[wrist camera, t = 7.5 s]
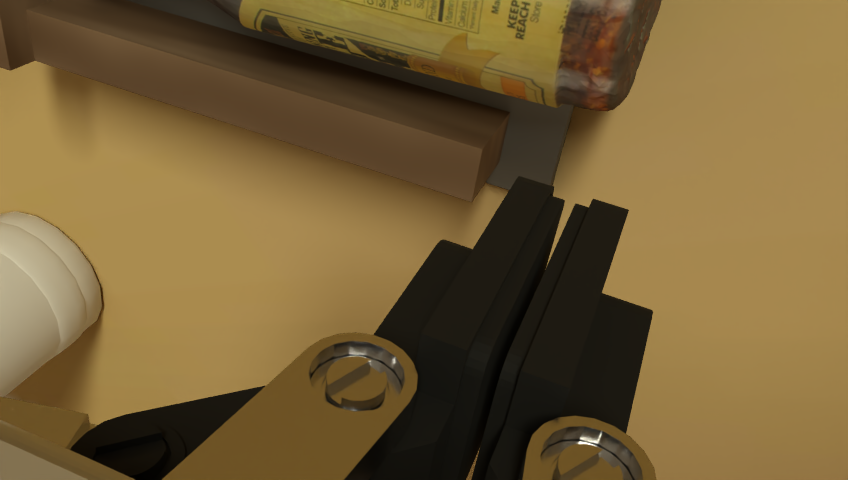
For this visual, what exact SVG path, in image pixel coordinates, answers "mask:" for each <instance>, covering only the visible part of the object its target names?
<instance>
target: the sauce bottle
mask: <svg viewBox="0 0 848 480" xmlns="http://www.w3.org/2000/svg"><path fill="white" fill-rule="evenodd" d="M208 1H209V2H211V3H212V4H214V5H215V6H216V7H218V8H219V9H221V10H222V11H224V12H225V13H227V14H228V15H229V16H231V17H232V18H234V19H235V20H237V21H238V22H239V23H240V24H241V25H243V26H244V27H247V28H250V29H254V30H257V31H261V32H265V33H268V34H271V35H275V36H281V37H285V38H289V39H293V40H297V41H301V42H305V43H309V44H312V45H316V46H320V47H324V48H329V49H332V50H335V51H338V52H342V53H346V54H350V55H354V56H358V57H361V58H365V59H371V60H375V61H378V62H384V63H387V64H390V65H393V66H397V67H400V68H403V69H407V70H412V71H417V72H421V73H424V74H428V75H432V76H436V77H440V78H444V79H447V80H451V81H455V82H459V83H463V84H467V85H470V86H474V87H478V88H482V89H486V90H490V91H493V92H497V93H501V94H505V95H509V96H513V97H516V98H520V99H524V100H528V101H532V102H536V103H539V104H543V105H547V106H551V107H555V108H558V107H560V106H561V105H564V104H567V105H573V106H577V107H581V108H585V109H590V110H595V111H609V110H613V109H615V108H616V107H617V106H619V105H620V104H621V103H622V102H623V100H624V99H625V98H626V97H627V95H628V94H629V91H630V89H631V87H632V84H633V82H634V79H635V75H636V71H637V69H638V67H639V64H640V61H641V58H642V55H643V52H644V49H645V46H646V44H647V42H648V40H649V36H650V31H651V29H652V26H653V24H654V22H655V19H656V17H657V14H658V11H659V8H660V5H661V0H208Z"/></svg>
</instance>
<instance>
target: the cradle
mask: <svg viewBox="0 0 848 480" xmlns="http://www.w3.org/2000/svg"><path fill="white" fill-rule="evenodd" d="M33 61H38V62H41V63H44V64H47V65H50V66H53V67H56V68H59V69H63V70H66V71H69V72H72V73H75V74H78V75H81V76H84V77H87V78H90V79H93V80H96V81H100V82H103V83H106V84H109V85H112V86H115V87H118V88H121V89H124V90H127V91H130V92H133V93H137V94H140V95H143V96H146V97H149V98H152V99H155V100H158V101H161V102H164V103H167V104H170V105H174V106H177V107H180V108H183V109H186V110H189V111H192V112H195V113H198V114H201V115H204V116H207V117H211V118H214V119H217V120H220V121H223V122H226V123H229V124H232V125H235V126H238V127H241V128H244V129H248V130H251V131H254V132H257V133H260V134H263V135H266V136H269V137H272V138H275V139H278V140H281V141H285V142H288V143H291V144H294V145H297V146H300V147H303V148H306V149H309V150H312V151H315V152H319V153H322V154H325V155H328V156H331V157H334V158H337V159H340V160H343V161H346V162H349V163H352V164H356V165H359V166H362V167H365V168H368V169H371V170H374V171H377V172H380V173H383V174H386V175H389V176H393V177H396V178H399V179H402V180H405V181H408V182H411V183H414V184H417V185H420V186H423V187H426V188H430V189H433V190H436V191H439V192H442V193H445V194H448V195H451V196H454V197H457V198H460V199H463V200H467V201H470V202H472V201H473V200H474V198H475V197H476V195H477V194H478V192H479V191H480V189H481V188H482V186H483V185H484V184H485V182H486V183H489V184H492V185H495V186H498V187H501V188H504V189H508V190H510V189H511V187H512V185H513V184H514V182H515V180H516V179H517V178H518V176H521V177H525V178H528V179H531V180H534V181H538V182H541V183H544V184H547V185H550V186H552V185H553V182H554V178H555V174H556V171H557V167H558V163H559V160H560V156H561V152H562V149H563V145H564V141H565V138H566V134H567V130H568V126H569V123H570V119H571V115H572V112H573V108H574V106H573V105H567V104H564V105H561V106H560V107H558V108H555V107H551V106H547V105H543V104H539V103H536V102H532V101H528V100H524V99H520V98H516V97H513V96H509V95H505V94H501V93H497V92H493V91H490V90H486V89H482V88H478V87H474V86H470V85H467V84H463V83H459V82H455V81H451V80H447V79H444V78H440V77H436V76H432V75H428V74H424V73H421V72H417V71H412V70H407V69H403V68H400V67H397V66H393V65H390V64H387V63H384V62H378V61H375V60H371V59H365V58H361V57H358V56H354V55H350V54H346V53H342V52H338V51H335V50H332V49H329V48H324V47H320V46H316V45H312V44H309V43H305V42H301V41H297V40H293V39H289V38H285V37H281V36H275V35H271V34H268V33H265V32H261V31H257V30H254V29H250V28H247V27H244V26H243V25H241V24H240V23H239V22H238V21H237V20H235V19H234V18H232V17H231V16H229V15H228V14H227V13H225V12H224V11H222V10H221V9H219V8H218V7H216V6H215V5H214V4H212V3H211V2H209V1H208V0H0V67H1V68H4V69H7V70H13V69H15V68H18V67H20V66H23V65H25V64H28V63H30V62H33Z"/></svg>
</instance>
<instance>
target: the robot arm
mask: <svg viewBox="0 0 848 480" xmlns="http://www.w3.org/2000/svg"><path fill="white" fill-rule="evenodd" d="M553 192H554V186H550V185H547V184H544V183H541V182H538V181H534V180H531V179H528V178H525V177H521V176H518V178H517V179H516V180H515V182H514V184H513V185H512V187H511V189H510V190H509V192H508V193H507V195H506V197H505V198H504V200H503V201H502V203H501V205H500V206H499V208H498V209H497V211H496V213H495V214H494V216H493V218H492V219H491V221H490V222H489V224H488V226H487V227H486V229H485V230H484V232H483V234H482V235H481V237H480V239H479V240H478V242H477V243H476V245H475V247H474V248H473V249H470V248H467V247H464V246H461V245H458V244H456V243H453V242H450V241H447V240H440V242H439V243H438V244H437V245H436V246H435V248H434V249H433V251H432V252H431V253H430V255H429V256H428V258H427V259H426V261H425V262H424V263H423V265H422V266H421V268H420V269H419V271H418V272H417V273H416V275H415V276H414V278H413V279H412V281H411V282H410V283H409V285H408V286H407V288H406V289H405V291H404V292H403V293H402V295H401V296H400V298H399V299H398V301H397V302H396V303H395V305H394V306H393V308H392V309H391V311H390V312H389V313H388V315H387V316H386V318H385V319H384V321H383V322H382V323H381V325H380V326H379V328H378V329H377V331H376V332H375V333H374V335H370V334H363V333H356V332H355V333H343V334H336V335H333V336H330V337H326V338H323V339H321V340H319V341H318V342H316V343H315V344H313V345H312V346H310V347H309V348H307V349H306V350H305V351H304V352H303V353H302V354H301V355H300V356H298V357H297V358H296V359H295V360H294V361H293V362H292V363H291V364H290V365H288V366H287V367H286V368H285V369H284V370H283V371H282V372H281V373H280V374H278V375H277V376H276V377H275V378H274V379H273V380H272V381H271V382H270V383H268V384H267V385H266V386H262V387H257V388H252V389H247V390H242V391H238V392H233V393H228V394H223V395H218V396H213V397H208V398H204V399H199V400H194V401H189V402H184V403H179V404H175V405H170V406H165V407H160V408H155V409H150V410H146V411H141V412H136V413H131V414H126V415H123V416H120V417H116V418H113V419H110V420H107V421H104V422H103V423H101V424H99V425H95V424H90V422H89V417H88V414H85V413H80V412H75V411H70V410H65V409H60V408H55V407H50V406H45V405H40V404H35V403H30V402H25V401H20V400H15V399H10V398H5V397H0V480H466V478H467V476H468V474H469V471H470V469H471V467H472V464H473V462H474V460H475V457H476V455H477V453H478V450H479V448H480V450H479V454H478V457H477V461H476V465H475V469H474V472H473V476H472V480H657V479H656V475H655V470H654V467H653V465H652V463H651V462H650V460H649V458H648V456H647V455H646V453H645V451H644V450H643V449H642V448H641V447H640V446H639V445H638V444H637V443H636V442H635V441H634V440H633V439H632V438H631V437H630V436H628V435H627V434H626V431H627V427H628V422H629V418H630V413H631V409H632V404H633V400H634V395H635V391H636V387H637V382H638V378H639V373H640V369H641V364H642V360H643V355H644V351H645V346H646V342H647V337H648V333H649V329H650V324H651V320H652V314H653V311H652V310H650V309H647V308H644V307H641V306H638V305H635V304H632V303H629V302H627V301H624V300H621V299H618V298H615V297H612V296H609V295H606V294H603V293H602V290H603V287H604V284H605V281H606V278H607V275H608V272H609V269H610V266H611V263H612V260H613V257H614V254H615V251H616V248H617V244H618V241H619V238H620V235H621V232H622V229H623V226H624V223H625V220H626V217H627V214H628V211H629V210H628V209H624V208H621V207H618V206H615V205H611V204H608V203H605V202H602V201H599V200H595V199H593V200H592V202H591V204H590V206H589V208H588V207H585V206H582V205H579V204H575V206H574V208H573V210H572V212H571V215H570V217H569V219H568V221H567V223H566V226H565V228H564V230H563V232H562V235H561V237H560V239H559V241H558V243H557V246H556V248H555V250H554V252H553V254H552V257H551V259H550V261H549V263H548V265H547V262H548V259H549V255H550V252H551V249H552V245H553V242H554V238H555V235H556V231H557V228H558V224H559V221H560V217H561V214H562V210H563V206H564V202H565V200H563V199H560V198H557V197H553ZM546 266H547V268H546ZM545 269H546V270H545Z"/></svg>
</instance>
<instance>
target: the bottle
mask: <svg viewBox="0 0 848 480" xmlns="http://www.w3.org/2000/svg"><path fill="white" fill-rule="evenodd" d="M101 308H102V301H101V291H100V285H99V282H98V280H97V278H96V275H95V273H94V271H93V268H92V266H91V264H90V263H89V261H88V260H87V259H86V257H85V256H84V255H83V253H82V252H81V250H80V249H79V248H78V246H77V245H76V244H75V243H74V242H73V241H71V240H70V239H69V238H68V237H67V236H66V235H65V234H64V233H63V232H62V231H60V230H59V229H58V228H56V227H55V226H53V225H51V224H49V223H48V222H46V221H44V220H42V219H41V218H39V217H37V216H33V215H29V214H25V213H21V212H17V211H14V212H9V213H4V214H0V397H5V396H6V395H7V394H9V393H10V392H11V391H12V390H13V389H15V388H16V387H17V386H18V385H19V384H21V383H22V382H23V381H24V380H26V379H27V378H28V377H29V376H30V375H32V374H33V373H34V372H35V371H36V370H38V369H39V368H40V367H41V366H42V365H44V364H45V363H46V362H47V361H49V360H51V359H52V358H53V357H55V356H56V355H58V354H59V353H61V352H62V351H63V350H65V349H66V348H67V347H69V346H70V345H71V344H72V343H73V342H75V341H76V340H77V339H78V338H79V337H80V336H81V335H82V332H84V331H85V330H86V329H87V328H88V327H90V326H91V325H92V324H93V323H94V322H96V321H97V319H98V316H99V314H100V311H101Z"/></svg>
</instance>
